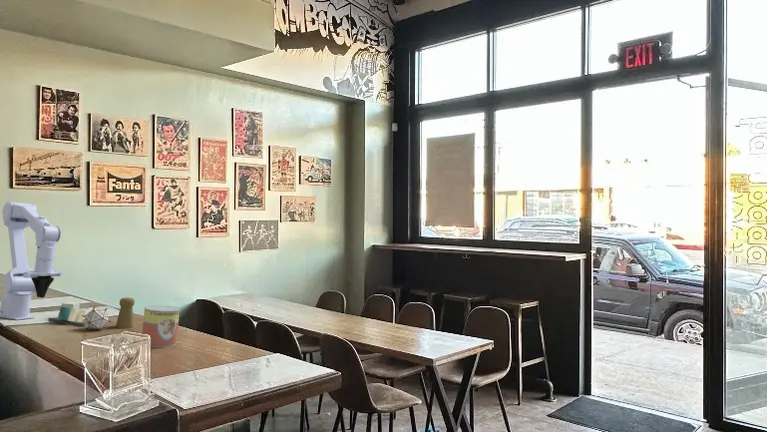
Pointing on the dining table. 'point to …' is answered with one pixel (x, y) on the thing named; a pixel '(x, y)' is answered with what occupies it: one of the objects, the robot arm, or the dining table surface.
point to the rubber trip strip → (66, 322)
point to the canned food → (161, 325)
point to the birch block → (71, 314)
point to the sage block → (71, 305)
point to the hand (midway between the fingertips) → (40, 297)
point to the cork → (125, 313)
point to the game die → (96, 318)
